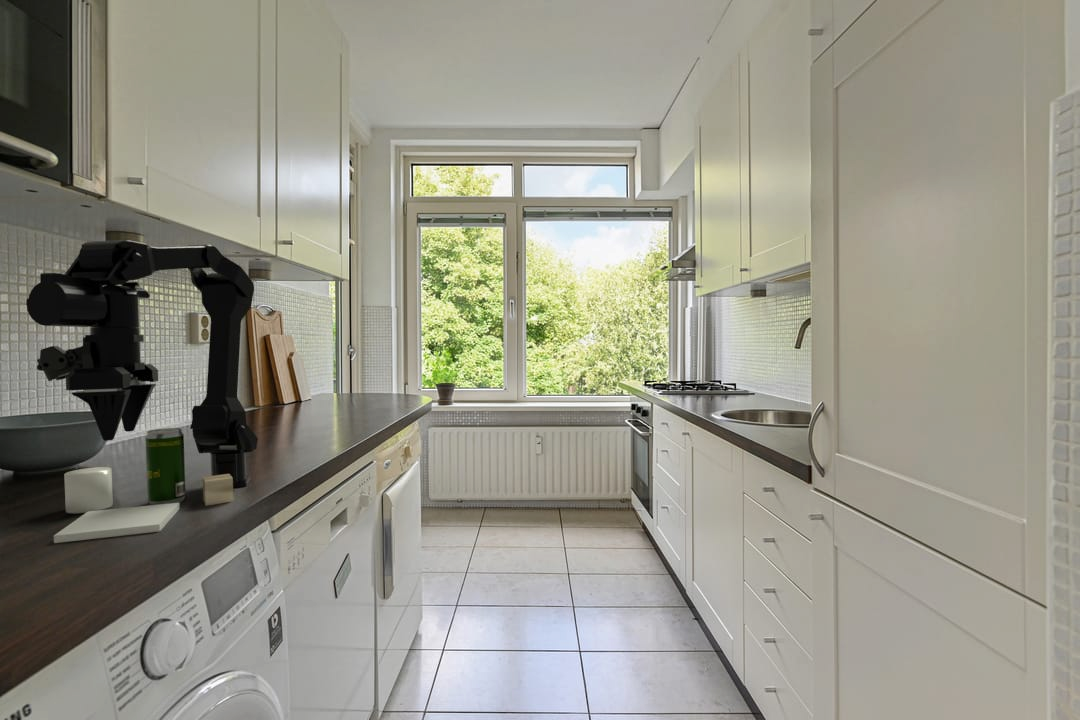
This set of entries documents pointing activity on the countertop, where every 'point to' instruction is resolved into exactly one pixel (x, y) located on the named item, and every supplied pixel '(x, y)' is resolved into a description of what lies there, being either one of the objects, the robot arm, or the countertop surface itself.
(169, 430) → the beer can
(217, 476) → the maple block
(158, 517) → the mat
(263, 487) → the countertop surface
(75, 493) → the rounded cream cube
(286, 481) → the countertop surface
